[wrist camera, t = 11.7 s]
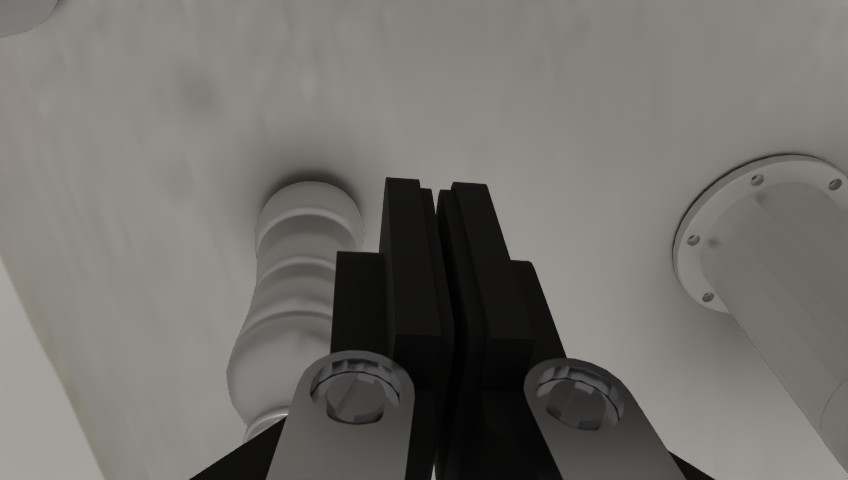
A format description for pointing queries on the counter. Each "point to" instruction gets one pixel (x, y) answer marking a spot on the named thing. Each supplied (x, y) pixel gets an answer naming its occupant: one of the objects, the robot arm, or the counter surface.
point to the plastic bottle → (290, 298)
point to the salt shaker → (23, 15)
